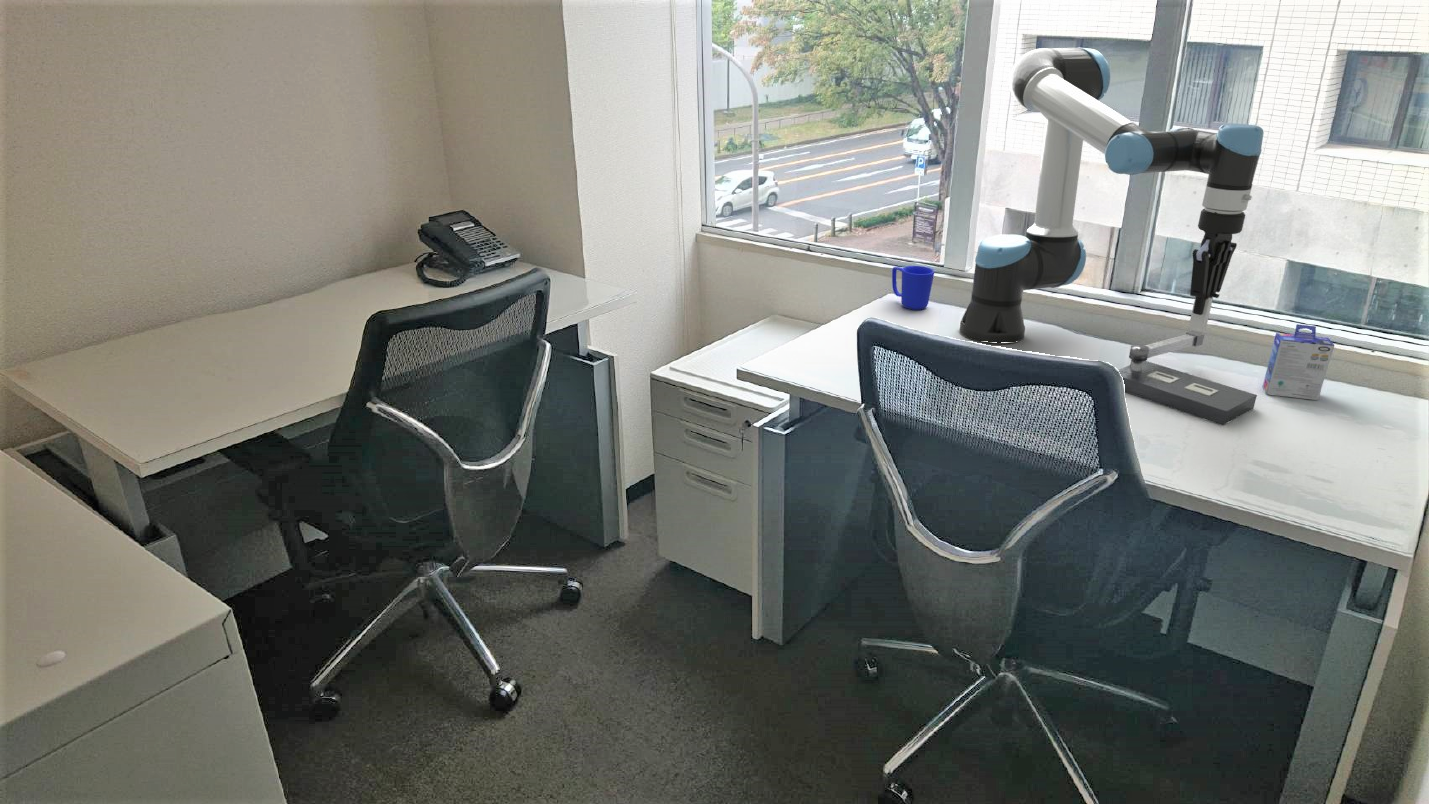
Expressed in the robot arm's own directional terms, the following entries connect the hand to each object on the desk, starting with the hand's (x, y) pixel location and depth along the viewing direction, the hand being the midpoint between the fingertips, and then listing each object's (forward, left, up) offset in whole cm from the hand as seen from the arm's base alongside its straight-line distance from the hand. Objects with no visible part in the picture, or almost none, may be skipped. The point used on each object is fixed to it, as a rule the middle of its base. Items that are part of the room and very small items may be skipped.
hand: (1197, 328), depth 183 cm
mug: (-74, +2, -15) cm, 76 cm away
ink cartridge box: (+13, +21, -15) cm, 29 cm away
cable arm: (-9, +9, -10) cm, 16 cm away
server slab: (0, 0, -15) cm, 15 cm away
